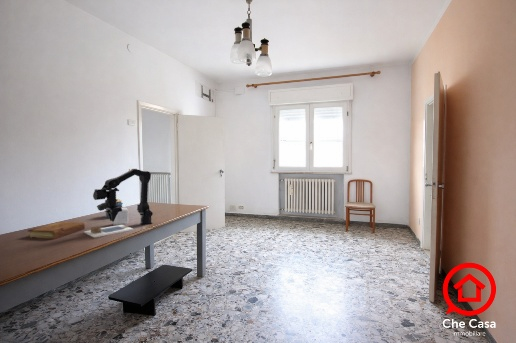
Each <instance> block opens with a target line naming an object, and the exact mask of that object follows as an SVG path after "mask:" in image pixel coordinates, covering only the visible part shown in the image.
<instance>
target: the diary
mask: <svg viewBox="0 0 516 343" xmlns="http://www.w3.org/2000/svg"><path fill="white" fill-rule="evenodd" d="M80 231H85V223H84V222H78V221H77V222H76V221H75V222H71V221H58V222H55V223H50V224H46V225H42V226H40V227H34V228H31V229H27V233H29V238H32V237H36V238H35V239H45V240H46V239H48V240H56V239H59V238H62V237H65V236H69V235H71V234H74V233H77V232H80Z"/></svg>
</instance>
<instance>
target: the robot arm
mask: <svg viewBox="0 0 516 343" xmlns="http://www.w3.org/2000/svg"><path fill="white" fill-rule="evenodd" d="M133 176H136V177H138V179H139V181H140V203H139V204H137V205H136V206H137V209H136V210H137V213H138V214H139V216H140V224H141V225H144V226H146V225H151V224H153V222H152V216H153V215H154V213H153V211H152V210H150V205H149V202H148V200H149V199H148V197H149V196H148V195H149V183H150V180H151V177H152V174H151V172H150V171H145V170H140V169H137V168H132V169H131V170H128V171H126V172H124V173H122V174H120V175H119V176H116V177H113V178H110V179H109V178H108V179H107V180H106V181H105V182H104V185H103V186H102V187H101V188H100V189H98V188H97V189H94V192H93V193H92V197H93V200H94V201H97V200H98V201H99V200H104V202H102V203H100V204H97V206H96V208H97V210H98V211H100V212H102V211H104V212H105V213H106V212H107V213H108V216H109V218H108V219H109V221H110V222H112V223H113V221H114V220H115V218H116V216H117V214H118V212H121V211H122V208H121V207H118V206H117V205H116V201H117V192H119V191H120V189H118V188H117V187H118V186H119V185H120V184H121V183H123V182H124V181H126V180H128V179H130V178H132V177H133Z"/></svg>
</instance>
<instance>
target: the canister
mask: <svg viewBox="0 0 516 343" xmlns="http://www.w3.org/2000/svg"><path fill="white" fill-rule="evenodd" d="M116 199H117V198H116ZM116 205H117V206H118V207H121V208H124V206H123V202H122V200H121V199H119V198H118V199H117V201H116ZM105 218H106V219H109V216H108V213H107V212H105Z"/></svg>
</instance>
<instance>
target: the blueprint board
mask: <svg viewBox="0 0 516 343" xmlns="http://www.w3.org/2000/svg"><path fill="white" fill-rule="evenodd" d="M83 231H84V232H83V233H84V234H85V235H87V236H89V237H92V238H99V237H103V236H109V235H113V234H114V235H115V234H120V233H124V232H130V231H134V228H133V227H129V226H127V225H124V224H119V225H113V226H107V227H99V226H92V227H90V230H86V231H85V230H83Z"/></svg>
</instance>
